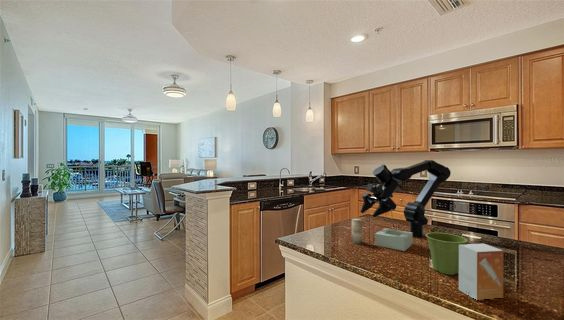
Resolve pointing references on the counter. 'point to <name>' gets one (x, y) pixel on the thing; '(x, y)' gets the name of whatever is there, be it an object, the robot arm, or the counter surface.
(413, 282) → the counter surface
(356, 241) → the beech peg
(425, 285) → the counter surface
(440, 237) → the plant pot
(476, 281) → the small box
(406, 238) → the socket block
